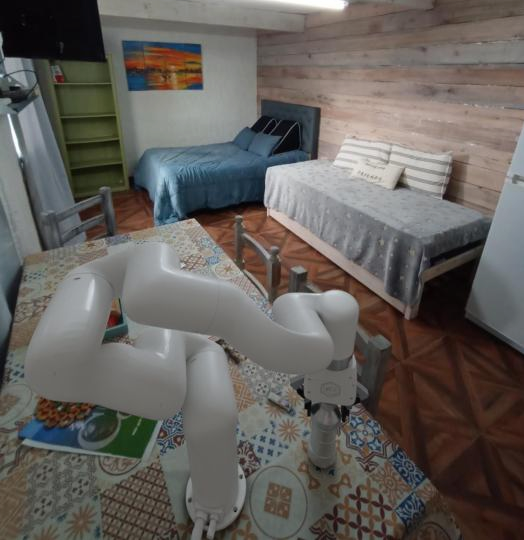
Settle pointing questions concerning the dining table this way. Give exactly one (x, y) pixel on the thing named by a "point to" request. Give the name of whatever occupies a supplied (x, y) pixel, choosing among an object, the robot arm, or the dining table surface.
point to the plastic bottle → (323, 433)
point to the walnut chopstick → (232, 355)
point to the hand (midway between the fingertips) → (325, 412)
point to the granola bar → (279, 401)
